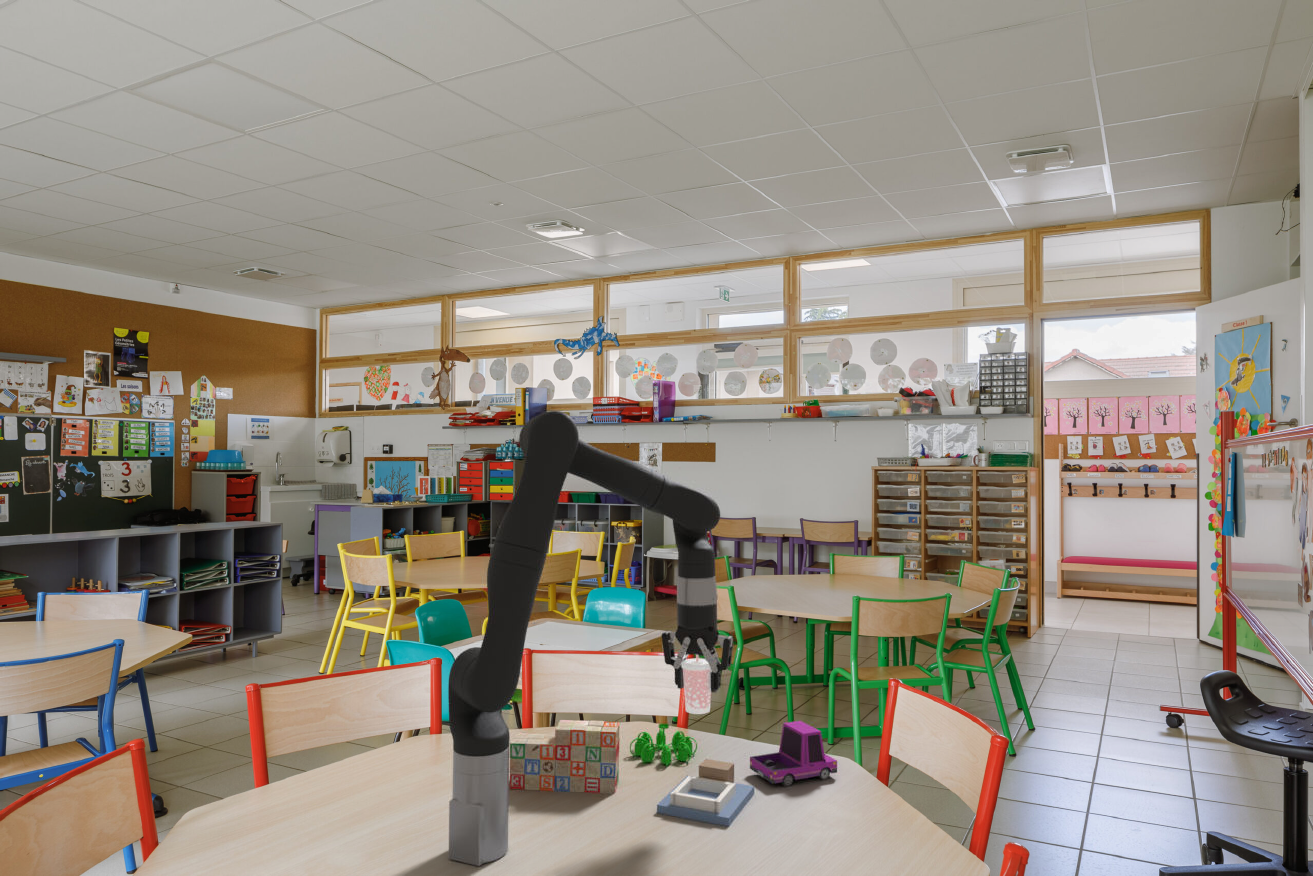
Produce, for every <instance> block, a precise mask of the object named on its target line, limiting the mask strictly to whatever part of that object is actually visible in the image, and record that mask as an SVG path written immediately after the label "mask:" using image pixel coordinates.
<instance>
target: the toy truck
mask: <svg viewBox="0 0 1313 876" xmlns="http://www.w3.org/2000/svg"><path fill="white" fill-rule="evenodd" d="M778 749H779V750H778V752H772V753H766V754H761V755H753V756H749V769H750V770H751V771H752V772H754V773H756V774H757V775H758V776H760V777H761V778H763V779H765V780H766V781H768V782H769V783H771V784H772V785H773V784H779V783H780V784H781V785H782V786H784V787H790V786H792V785H793V783H794V780H795V781H796V780H801V779H809V778H814V777H818V779H820V781H826V780H828V779H829V777H830V775H831V774H836V773H838V760H837V759H834V758H833V757H832V756H830V755H828V754H826V753H825V750H824V749H825V748H824V742H823V736H822V731H821V730H819V729H818V728H815V727H814V726H811V725H809V724H807V723H806V722H804V721H802V720H797V721H790V722H783V724H782V730H781V737H780V744H779V748H778Z"/></svg>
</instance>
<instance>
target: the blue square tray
mask: <svg viewBox="0 0 1313 876" xmlns="http://www.w3.org/2000/svg"><path fill="white" fill-rule="evenodd" d="M754 795H755V785H749V784H743V783H739V782H735V763H733V762H729V761H727V762H726V761H721V760H714V759H707V758H705V759H704V760H703V761H701V763H700V764H699V765H698V776H695V775H686V776H685V777H684V778H683V779H682V780H681V781H680V782H679V783H678V784H677V785H676V786H675V787H674V788H673V789H672V790H671V791H669V793H667V795H665V796H664V798H662V799H661V801H659V802H658V803H657V804H656V813H657V814H661V815H665V816H671V817H676V818H682V819H687V820H692V821H698V822H703V823H707V824H714V825H718V826H725V827H730V826H731V824H732V823H733V822H734V821H735V819H736V818H737V817H738V815H739V814H740V813H741V812H742V811H743V809H744V808H745V806H746V805H747V804H748V803H749V802H750V800H751V799H752V798H753V796H754Z"/></svg>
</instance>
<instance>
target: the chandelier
mask: <svg viewBox="0 0 1313 876" xmlns="http://www.w3.org/2000/svg"><path fill="white" fill-rule="evenodd" d="M669 727H670V725H669V724H668V723H659V724H658V728H659V729H658V732H657V733H656V737H655V743H654V741H653V738H652V736H651V734H650V733H649V732H646V731H642V732H640V733H639V734H638V735H637V737H636V738H635V739H633V740H632V741H631V742H630V743H629V744H630V745H629V753H630V754H631V755H632V757H640V759H641V761H642V763H643V764H647V763H651V762H653V760H654V759H655V754H656V752H657V751H659V750H660V751H661V753H660V755H661V756H660V758H661V759H660V760H661V761H660V762H661V764H664V765H665V767H668V766H669V764H671V763H672V751H674V756H675V758H676V760H677V761H681V762H685V763H688V762H690V761H691V758H692V756H693V755H695V753H696V752H697V749H698V744H697V743H698V742H697V740H696V739H695V738H694V737H693V736H692V737H691V736H688V735H687V736H686V735H685V733H684V732H683V731H681V730H677V731H676V732H674V734H673V735H672V739H671V742H670V743H668V744H667V741H666V739H667V738H666V736H667V735H666V732H665V731H666V730H667V729H669ZM691 739H692V740H691ZM692 741H694V742H695V749H694V750H693V742H692ZM633 743H635V744H634V753H633V751H632V749H631V748H632V745H633Z"/></svg>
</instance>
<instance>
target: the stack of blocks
mask: <svg viewBox="0 0 1313 876" xmlns="http://www.w3.org/2000/svg"><path fill="white" fill-rule="evenodd" d="M554 732H555V733H554V734H546V733H525V732H524V733H523V732H522V733H519V732H517V733H516V734H515V736H513V739H512V740H511V741H510V742H509V790H525V791H542V792H543V791H545V792H546V791H547V792H550V791H551V792H571V793H572V792H573V793H576V792H577V793H593V794H594V793H596V794H616V792H617V787H618V784H619V775H620V774H619V773H620V771H619V769H620V768H619V767H620V722H616V721H615V722H614V721H605V720H573V719H569V720H567V719H560V720H559V722H558V723H557V726H556V728H555V731H554Z"/></svg>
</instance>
